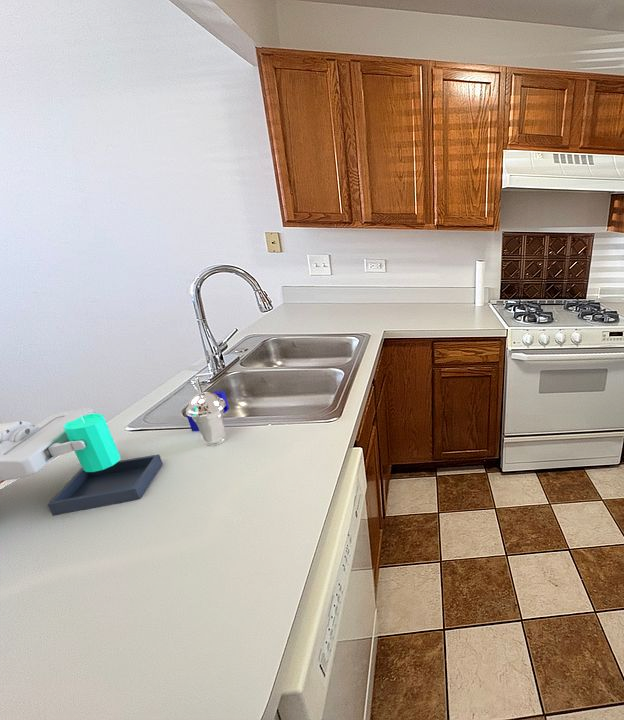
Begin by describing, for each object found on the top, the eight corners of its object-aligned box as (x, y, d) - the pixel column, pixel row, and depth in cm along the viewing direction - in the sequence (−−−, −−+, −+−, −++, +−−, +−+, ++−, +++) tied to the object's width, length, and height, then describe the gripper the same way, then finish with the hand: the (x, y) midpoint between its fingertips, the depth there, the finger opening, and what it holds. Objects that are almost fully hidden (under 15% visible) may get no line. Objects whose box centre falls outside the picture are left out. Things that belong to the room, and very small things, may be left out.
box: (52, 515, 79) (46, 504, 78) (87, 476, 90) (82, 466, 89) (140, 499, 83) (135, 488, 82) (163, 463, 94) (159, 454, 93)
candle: (119, 451, 88) (99, 404, 84) (122, 463, 84) (101, 414, 80) (82, 463, 84) (59, 414, 80) (83, 476, 80) (59, 425, 76)
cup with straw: (225, 428, 109) (206, 361, 101) (242, 439, 104) (223, 369, 96) (191, 443, 102) (167, 372, 95) (206, 455, 97) (183, 382, 90)
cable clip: (214, 409, 119) (209, 391, 116) (229, 409, 119) (224, 391, 116) (186, 431, 108) (180, 411, 105) (202, 431, 107) (196, 412, 105)
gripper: (56, 429, 89) (127, 422, 92) (-26, 490, 71) (67, 478, 74) (44, 405, 87) (118, 398, 90) (-44, 461, 69) (53, 450, 72)
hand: (94, 435), depth 82 cm, fingers closed on candle, 5 cm apart
